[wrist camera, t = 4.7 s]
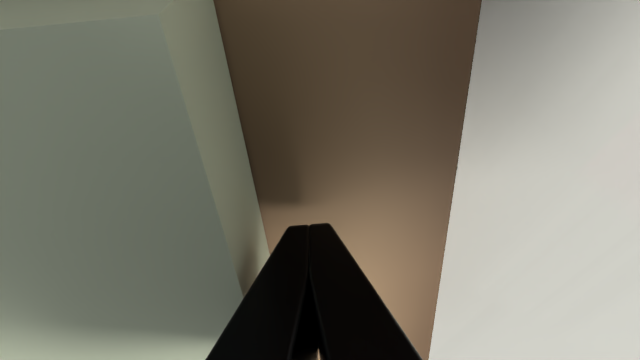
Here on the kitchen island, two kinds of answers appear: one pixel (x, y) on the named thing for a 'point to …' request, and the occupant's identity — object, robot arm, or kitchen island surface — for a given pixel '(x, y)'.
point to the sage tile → (120, 182)
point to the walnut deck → (357, 129)
